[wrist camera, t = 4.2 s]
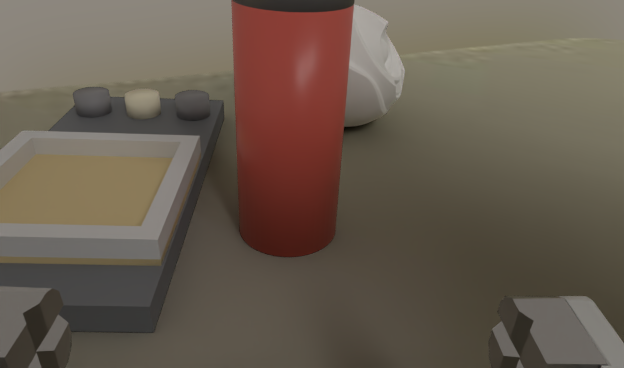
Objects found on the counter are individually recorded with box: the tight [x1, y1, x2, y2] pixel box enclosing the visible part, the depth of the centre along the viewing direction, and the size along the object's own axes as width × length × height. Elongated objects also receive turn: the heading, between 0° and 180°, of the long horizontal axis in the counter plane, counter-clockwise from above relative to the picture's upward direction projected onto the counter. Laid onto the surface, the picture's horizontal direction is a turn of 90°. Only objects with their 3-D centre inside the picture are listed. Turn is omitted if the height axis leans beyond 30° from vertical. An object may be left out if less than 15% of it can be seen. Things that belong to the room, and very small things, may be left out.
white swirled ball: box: [344, 4, 405, 127], centre depth 32 cm, size 8×8×8 cm
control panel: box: [0, 87, 224, 332], centre depth 25 cm, size 19×9×2 cm, turn 1°
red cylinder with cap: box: [232, 0, 354, 257], centre depth 20 cm, size 4×4×12 cm
